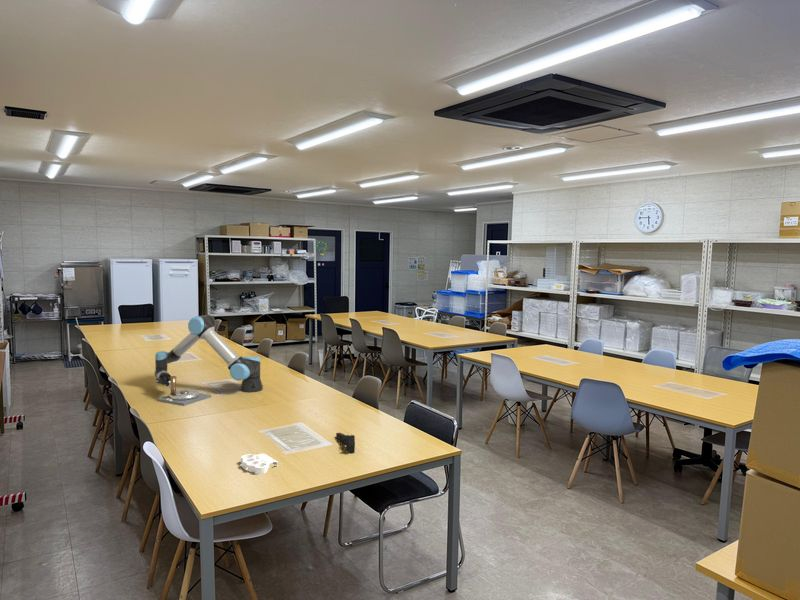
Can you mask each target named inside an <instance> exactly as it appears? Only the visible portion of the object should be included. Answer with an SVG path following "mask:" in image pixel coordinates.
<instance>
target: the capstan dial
mask: <svg viewBox="0 0 800 600" xmlns="http://www.w3.org/2000/svg"><path fill="white" fill-rule="evenodd" d="M176 377H177V376H176V375H171V387H170V393H169V394H168V395H169V398H170V399H173V400H188V399H193V398H197V397H199V393H200V391H199V390H196V389H181V390H177V384H176V382H177V381H176Z"/></svg>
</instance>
